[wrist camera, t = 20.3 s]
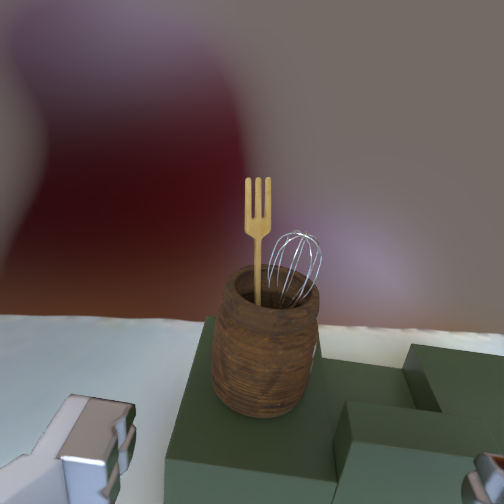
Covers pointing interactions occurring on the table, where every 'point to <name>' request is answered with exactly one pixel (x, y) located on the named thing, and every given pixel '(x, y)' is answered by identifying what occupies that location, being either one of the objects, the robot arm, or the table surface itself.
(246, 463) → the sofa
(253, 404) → the utensil holder
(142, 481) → the table surface
